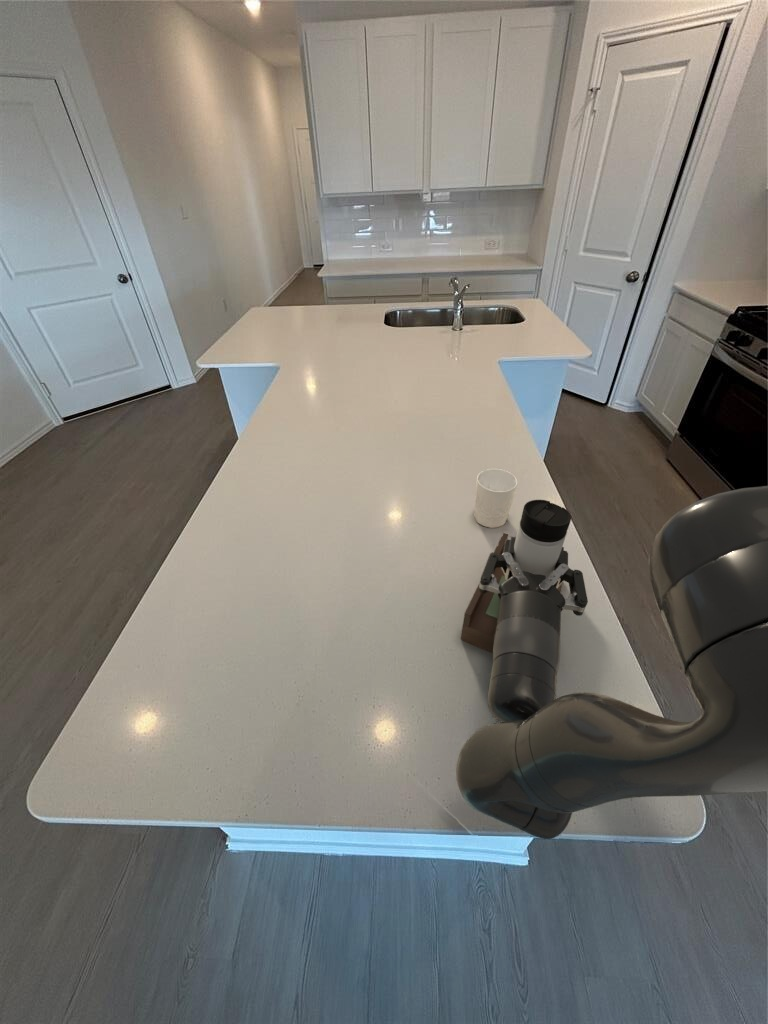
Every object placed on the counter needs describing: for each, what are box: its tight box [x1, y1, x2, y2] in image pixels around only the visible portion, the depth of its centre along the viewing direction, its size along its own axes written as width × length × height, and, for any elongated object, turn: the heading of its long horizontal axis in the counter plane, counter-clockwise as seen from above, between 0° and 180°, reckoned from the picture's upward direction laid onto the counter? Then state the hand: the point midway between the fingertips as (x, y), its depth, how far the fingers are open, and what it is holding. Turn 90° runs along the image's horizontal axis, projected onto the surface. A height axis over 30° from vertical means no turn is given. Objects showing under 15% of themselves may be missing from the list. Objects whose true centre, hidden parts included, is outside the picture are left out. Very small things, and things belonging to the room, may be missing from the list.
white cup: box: [474, 468, 518, 529], centre depth 90 cm, size 8×8×10 cm
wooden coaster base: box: [460, 532, 564, 654], centre depth 73 cm, size 12×20×7 cm, turn 152°
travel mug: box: [513, 499, 572, 578], centre depth 65 cm, size 6×7×20 cm
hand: (535, 545), depth 66 cm, fingers closed on travel mug, 6 cm apart
